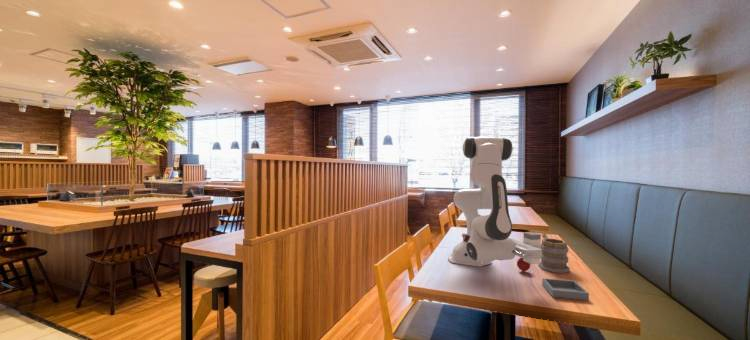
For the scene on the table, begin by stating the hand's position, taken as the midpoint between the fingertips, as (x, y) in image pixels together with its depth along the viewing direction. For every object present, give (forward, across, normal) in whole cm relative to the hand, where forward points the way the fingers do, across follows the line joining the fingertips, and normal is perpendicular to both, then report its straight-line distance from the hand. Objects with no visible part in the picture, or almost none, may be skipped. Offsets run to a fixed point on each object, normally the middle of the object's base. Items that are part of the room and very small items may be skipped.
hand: (533, 246), depth 127 cm
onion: (+10, +18, +18) cm, 28 cm away
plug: (-1, 0, +6) cm, 7 cm away
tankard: (+30, +21, +18) cm, 41 cm away
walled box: (+10, -6, +18) cm, 21 cm away
